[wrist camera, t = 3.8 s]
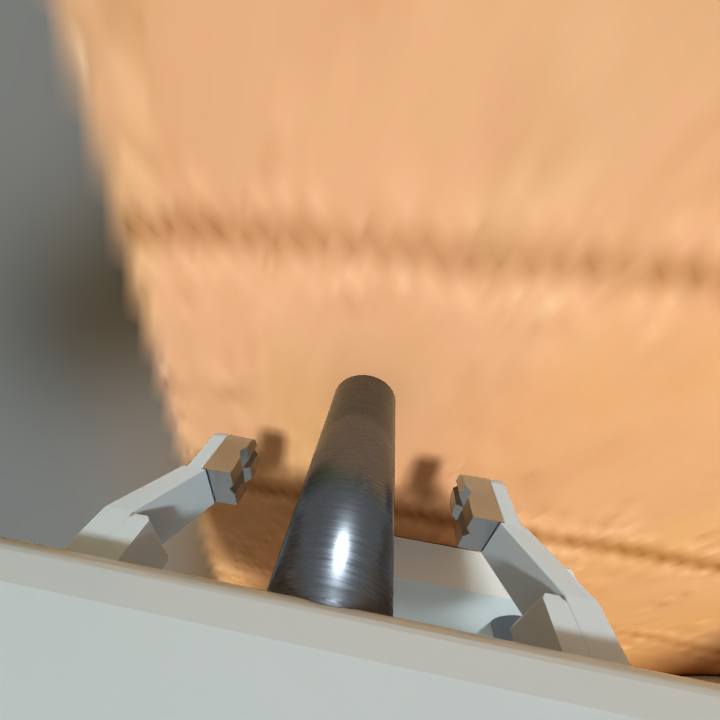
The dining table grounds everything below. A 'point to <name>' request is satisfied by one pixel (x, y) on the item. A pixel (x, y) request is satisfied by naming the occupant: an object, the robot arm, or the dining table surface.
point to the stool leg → (346, 507)
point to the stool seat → (450, 589)
